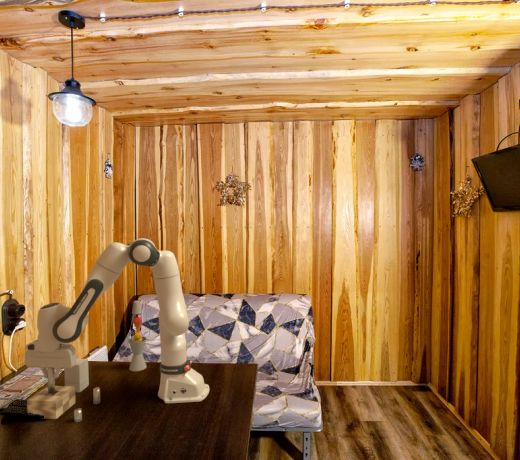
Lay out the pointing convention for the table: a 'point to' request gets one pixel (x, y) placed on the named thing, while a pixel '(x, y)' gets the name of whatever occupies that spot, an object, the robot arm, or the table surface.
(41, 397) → the birch hole block
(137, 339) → the lava lamp
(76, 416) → the short steel pin
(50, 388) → the long steel pin
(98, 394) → the medium steel pin
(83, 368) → the supplement box
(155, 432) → the table surface
